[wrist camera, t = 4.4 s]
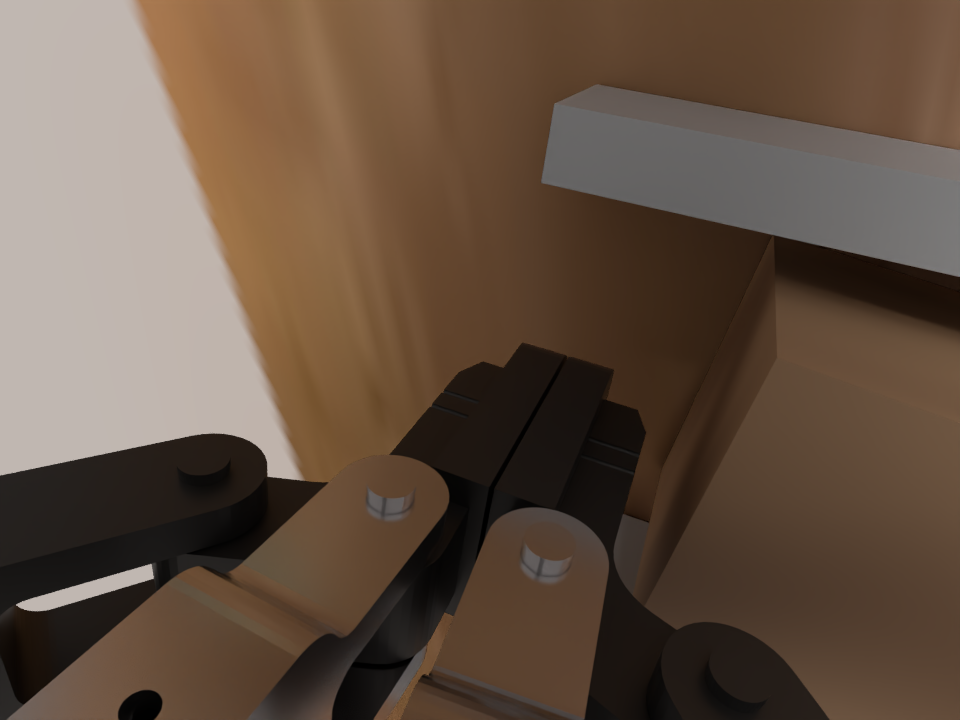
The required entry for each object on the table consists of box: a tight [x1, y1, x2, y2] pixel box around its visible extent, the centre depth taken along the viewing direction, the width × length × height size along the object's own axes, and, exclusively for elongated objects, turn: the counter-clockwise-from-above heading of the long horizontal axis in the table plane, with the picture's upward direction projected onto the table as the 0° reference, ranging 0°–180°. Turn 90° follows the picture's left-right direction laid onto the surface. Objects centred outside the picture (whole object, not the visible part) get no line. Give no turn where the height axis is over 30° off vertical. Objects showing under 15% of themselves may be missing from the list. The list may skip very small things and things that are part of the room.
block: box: [633, 235, 960, 720], centre depth 9 cm, size 5×7×4 cm
